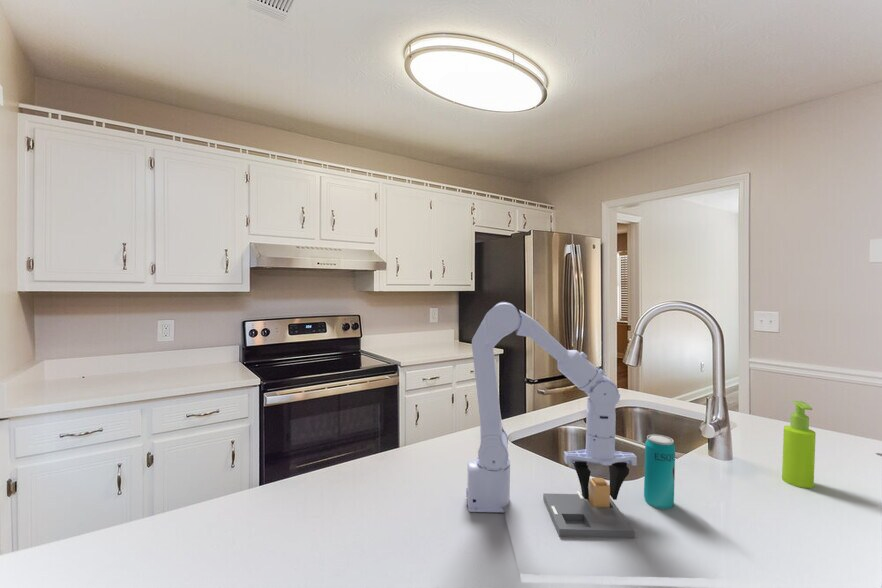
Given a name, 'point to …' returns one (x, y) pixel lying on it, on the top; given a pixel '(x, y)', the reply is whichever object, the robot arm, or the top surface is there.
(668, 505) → the beverage can
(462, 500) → the top surface
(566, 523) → the socket board
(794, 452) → the soap dispenser
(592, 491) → the orange plug
